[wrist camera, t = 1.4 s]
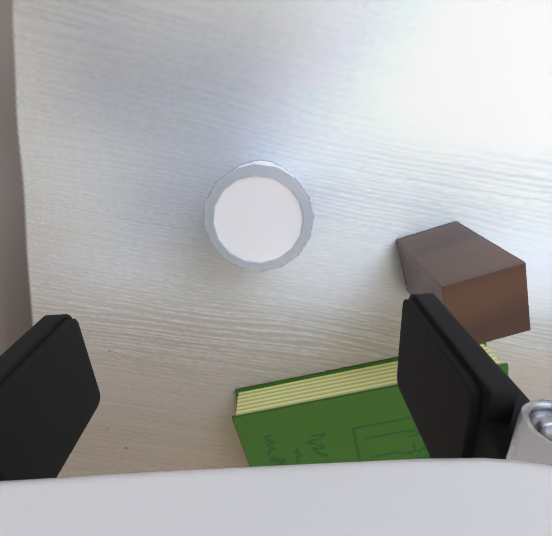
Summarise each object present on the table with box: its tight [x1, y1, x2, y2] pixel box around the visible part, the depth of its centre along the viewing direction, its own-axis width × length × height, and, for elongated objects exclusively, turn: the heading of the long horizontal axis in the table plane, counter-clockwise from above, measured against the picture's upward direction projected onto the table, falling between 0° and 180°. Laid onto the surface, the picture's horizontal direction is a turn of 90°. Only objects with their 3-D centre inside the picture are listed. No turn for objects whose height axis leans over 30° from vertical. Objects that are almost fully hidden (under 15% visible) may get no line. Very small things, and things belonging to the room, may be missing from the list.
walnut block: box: [397, 221, 530, 344], centre depth 28 cm, size 5×5×9 cm
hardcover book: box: [232, 342, 508, 467], centre depth 38 cm, size 25×19×4 cm
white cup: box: [203, 160, 314, 271], centre depth 26 cm, size 7×7×7 cm
